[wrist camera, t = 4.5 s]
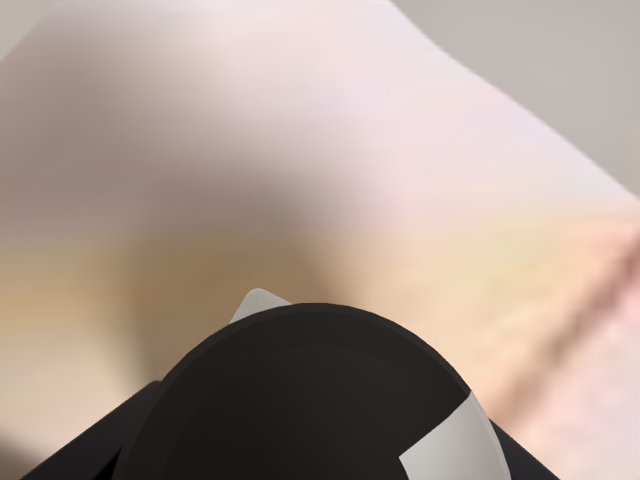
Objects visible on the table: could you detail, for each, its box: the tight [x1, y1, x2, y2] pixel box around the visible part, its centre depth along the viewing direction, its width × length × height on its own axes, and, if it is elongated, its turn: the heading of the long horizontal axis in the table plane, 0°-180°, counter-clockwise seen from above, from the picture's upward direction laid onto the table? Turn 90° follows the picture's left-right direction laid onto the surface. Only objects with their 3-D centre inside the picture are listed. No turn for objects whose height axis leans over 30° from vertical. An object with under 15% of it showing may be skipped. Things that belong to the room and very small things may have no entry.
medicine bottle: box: [111, 288, 511, 480], centre depth 11 cm, size 7×7×12 cm
